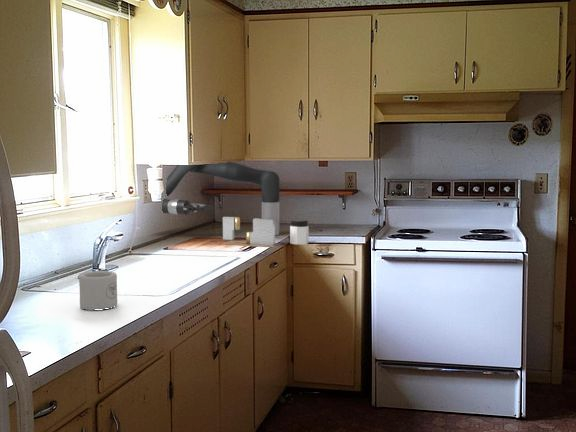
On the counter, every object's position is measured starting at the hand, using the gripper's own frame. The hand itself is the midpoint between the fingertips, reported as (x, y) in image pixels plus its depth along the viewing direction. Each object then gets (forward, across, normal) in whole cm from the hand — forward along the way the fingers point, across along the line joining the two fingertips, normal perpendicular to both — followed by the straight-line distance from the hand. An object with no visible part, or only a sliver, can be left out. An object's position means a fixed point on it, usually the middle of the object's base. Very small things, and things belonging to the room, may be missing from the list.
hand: (208, 208), depth 339 cm
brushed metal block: (+13, 0, +16) cm, 20 cm away
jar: (+47, 0, +16) cm, 50 cm away
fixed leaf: (+32, -11, +14) cm, 37 cm away
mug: (+30, -133, +16) cm, 137 cm away
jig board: (+28, -11, +16) cm, 33 cm away
